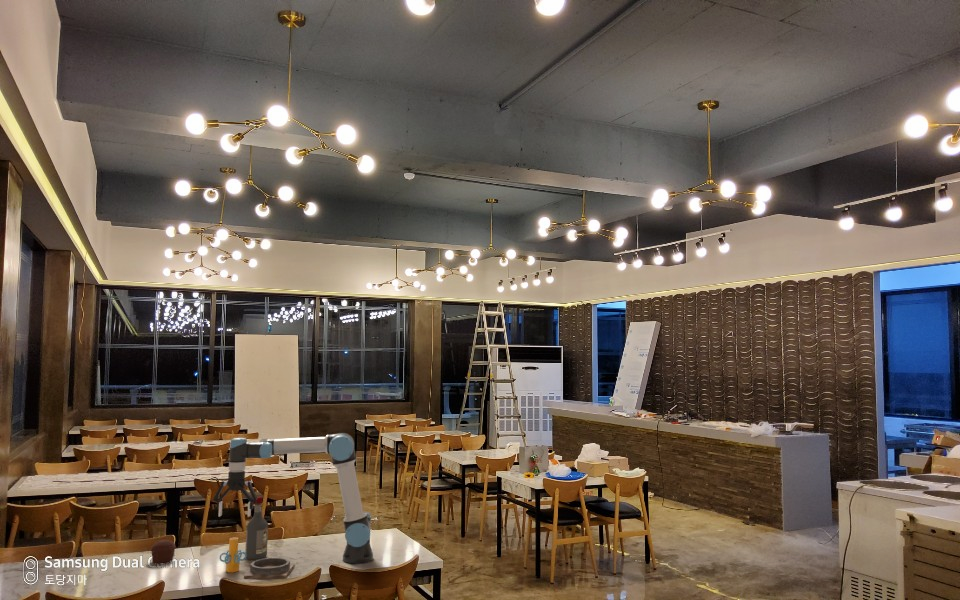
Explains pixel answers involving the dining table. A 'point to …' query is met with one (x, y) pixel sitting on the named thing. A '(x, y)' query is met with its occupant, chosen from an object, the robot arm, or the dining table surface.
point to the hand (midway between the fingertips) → (234, 516)
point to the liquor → (257, 534)
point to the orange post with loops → (233, 556)
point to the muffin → (163, 551)
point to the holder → (270, 568)
